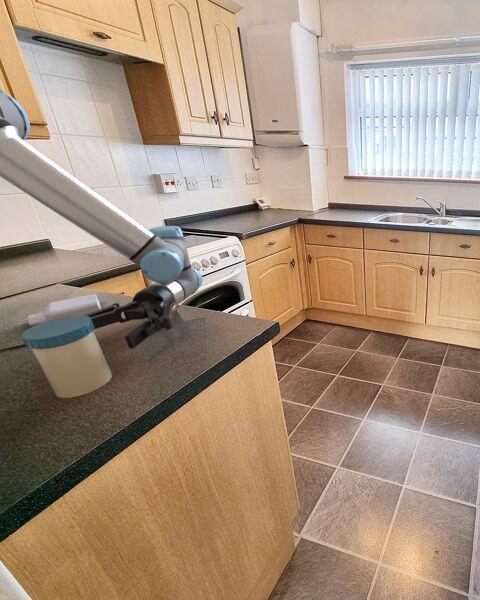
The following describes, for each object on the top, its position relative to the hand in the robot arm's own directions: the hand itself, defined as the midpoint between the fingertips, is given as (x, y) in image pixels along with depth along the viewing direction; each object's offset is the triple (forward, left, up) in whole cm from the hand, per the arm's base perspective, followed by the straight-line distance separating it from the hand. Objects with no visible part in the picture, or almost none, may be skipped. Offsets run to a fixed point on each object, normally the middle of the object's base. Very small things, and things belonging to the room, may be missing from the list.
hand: (91, 343), depth 64 cm
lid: (-2, -4, +6) cm, 7 cm away
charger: (-13, +30, -6) cm, 33 cm away
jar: (-2, -4, -6) cm, 7 cm away
